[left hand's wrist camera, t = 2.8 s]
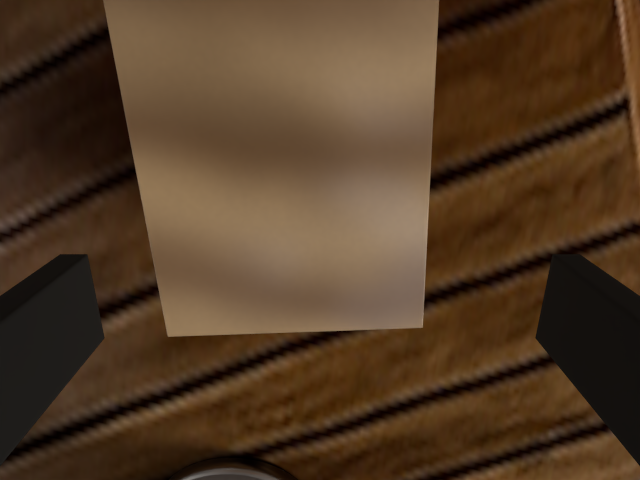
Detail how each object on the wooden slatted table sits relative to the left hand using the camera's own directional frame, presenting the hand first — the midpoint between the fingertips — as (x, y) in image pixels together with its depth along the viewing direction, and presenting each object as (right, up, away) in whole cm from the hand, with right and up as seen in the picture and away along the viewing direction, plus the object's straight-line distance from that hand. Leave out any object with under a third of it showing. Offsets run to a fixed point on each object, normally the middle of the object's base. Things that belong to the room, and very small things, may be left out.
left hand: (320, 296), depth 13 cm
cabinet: (-2, +10, +15) cm, 18 cm away
